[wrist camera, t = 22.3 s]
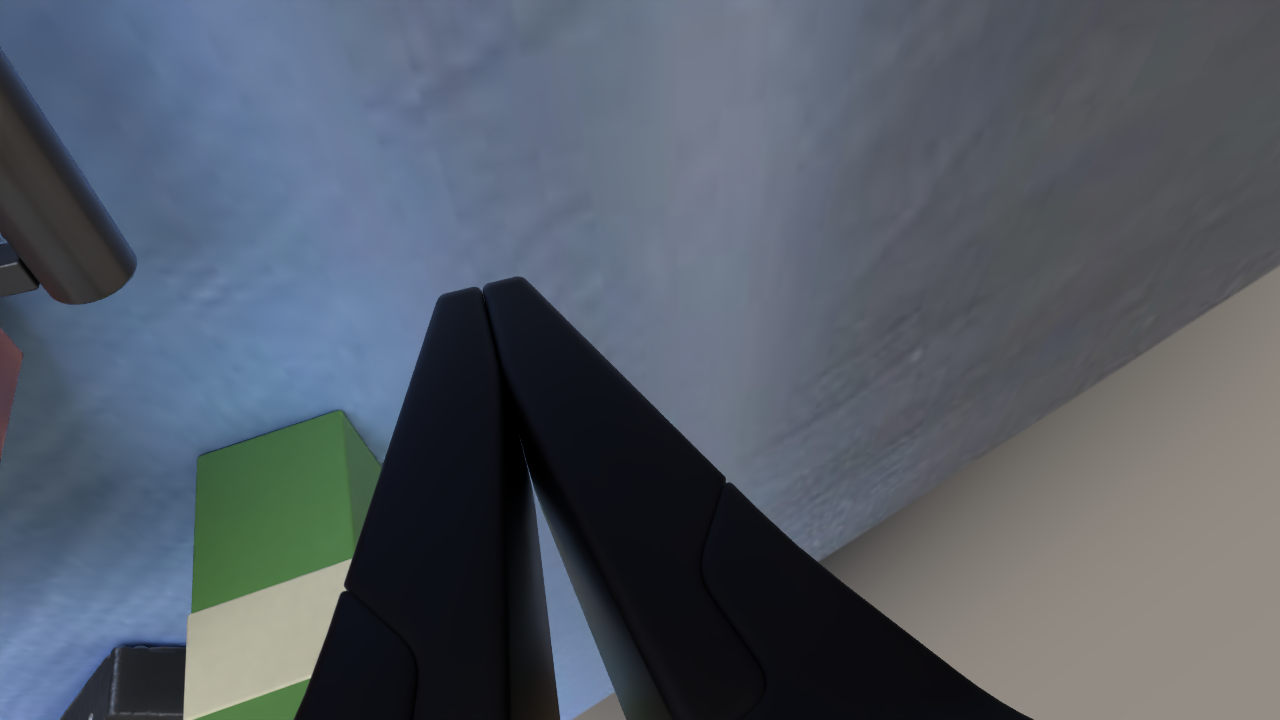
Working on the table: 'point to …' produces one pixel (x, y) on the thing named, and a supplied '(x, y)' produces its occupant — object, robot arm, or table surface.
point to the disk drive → (134, 686)
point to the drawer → (48, 223)
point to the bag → (271, 564)
